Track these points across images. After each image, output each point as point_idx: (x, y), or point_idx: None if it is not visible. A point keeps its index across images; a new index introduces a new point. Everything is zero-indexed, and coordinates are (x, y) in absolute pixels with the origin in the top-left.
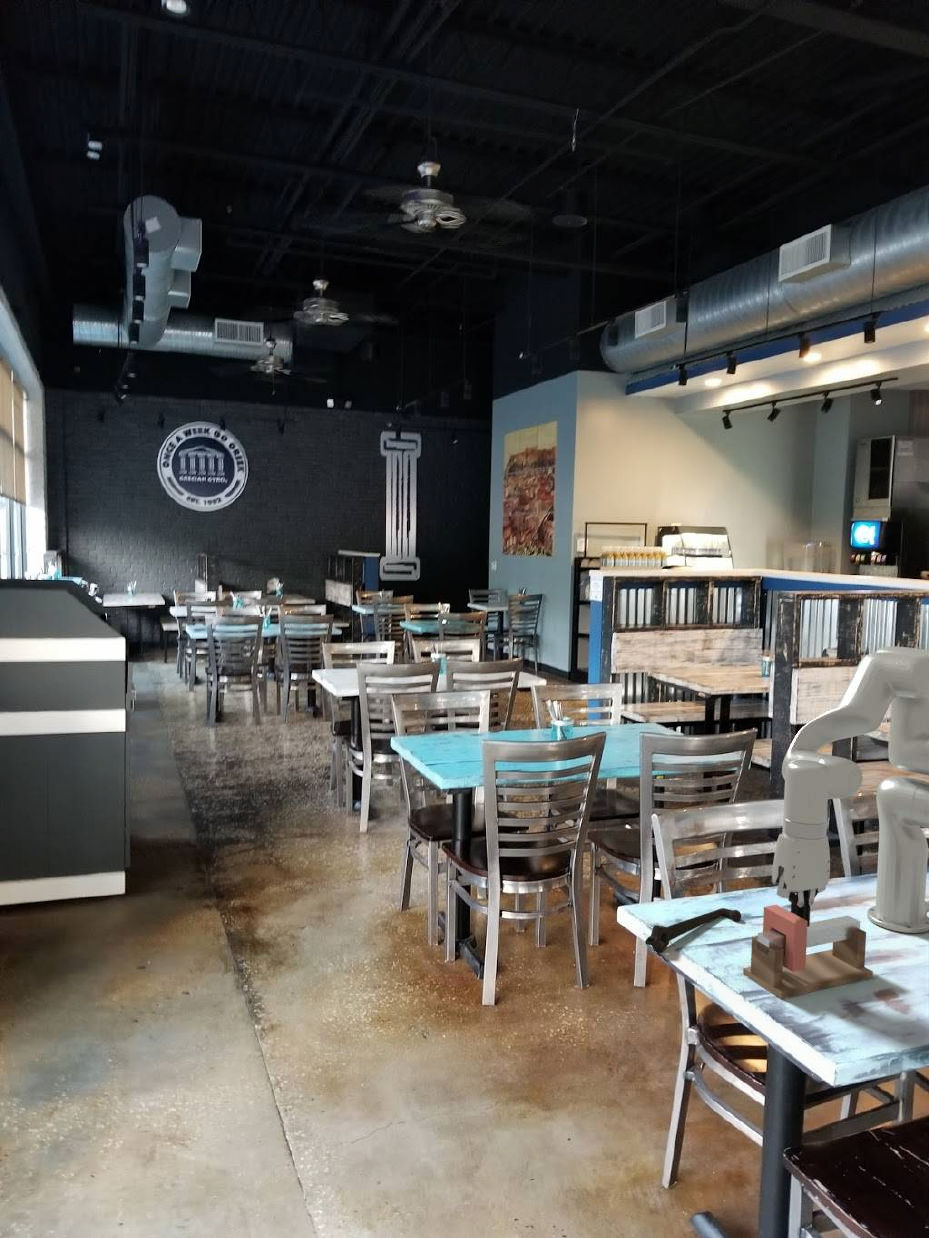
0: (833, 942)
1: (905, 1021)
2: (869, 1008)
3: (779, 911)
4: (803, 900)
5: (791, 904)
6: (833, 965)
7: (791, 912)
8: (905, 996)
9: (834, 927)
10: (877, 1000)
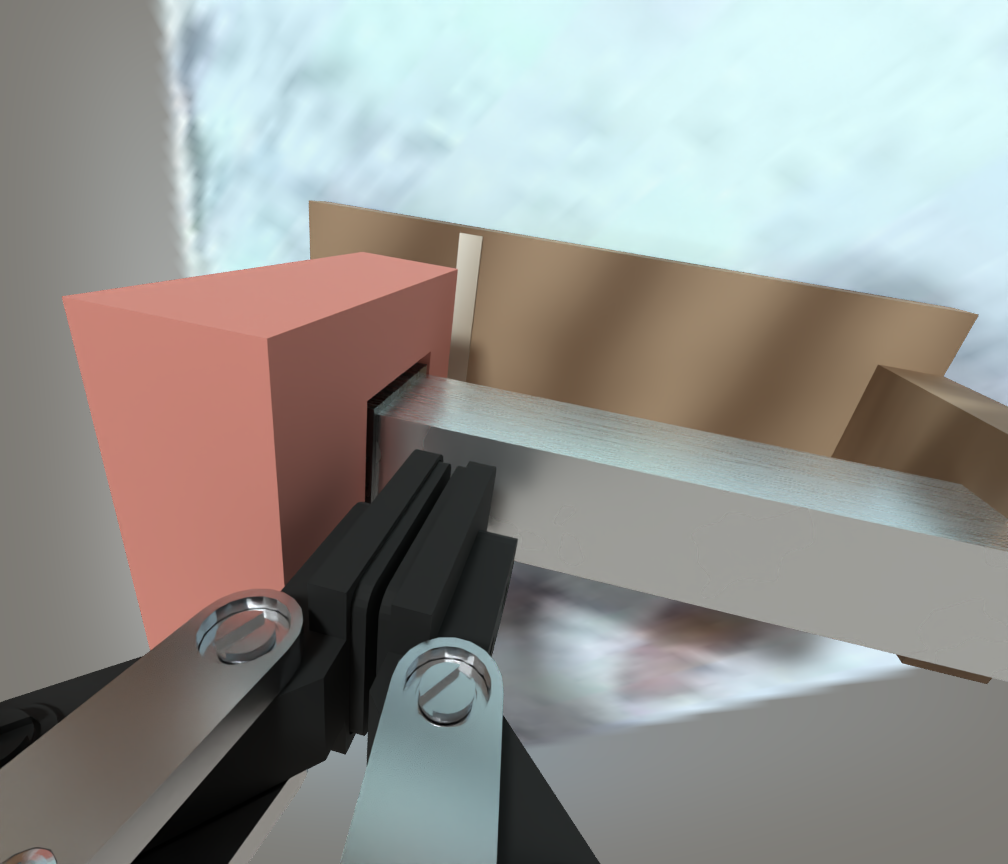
0: (923, 395)
1: (576, 711)
2: (555, 630)
3: (178, 487)
4: (267, 828)
5: (331, 555)
6: (742, 436)
7: (328, 539)
8: (751, 668)
9: (757, 615)
10: (633, 625)
